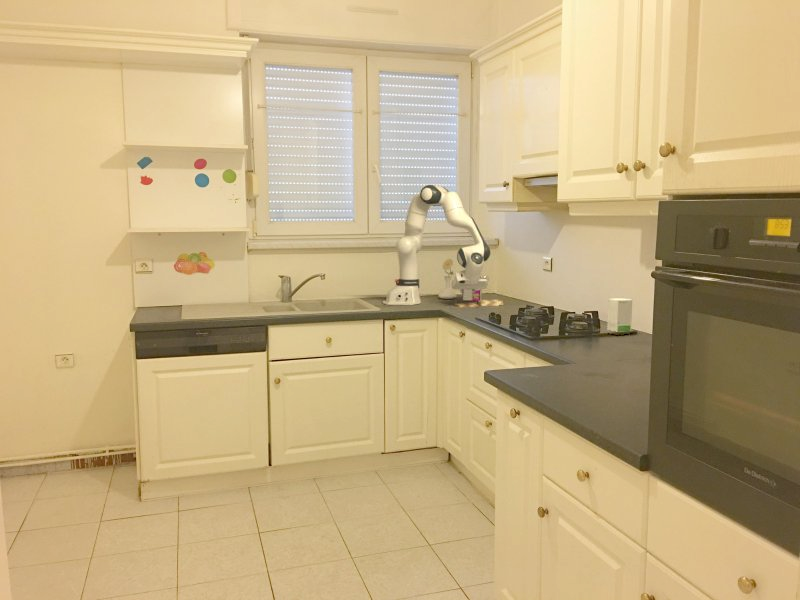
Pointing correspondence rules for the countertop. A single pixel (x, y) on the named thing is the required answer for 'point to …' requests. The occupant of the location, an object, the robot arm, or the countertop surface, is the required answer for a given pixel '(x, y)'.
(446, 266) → the flower in vase
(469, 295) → the grey block
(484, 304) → the birch box
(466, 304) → the cork mat
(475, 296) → the candy bar box
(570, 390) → the countertop surface
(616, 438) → the countertop surface
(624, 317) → the skincare box
